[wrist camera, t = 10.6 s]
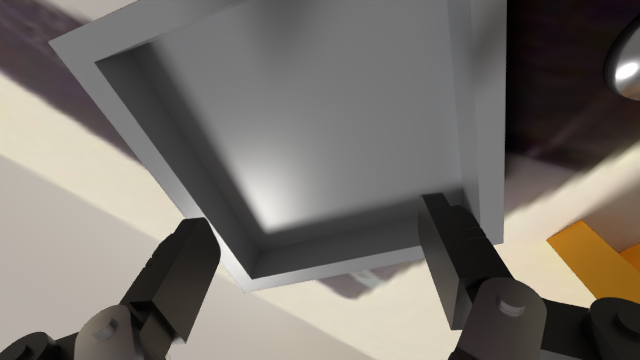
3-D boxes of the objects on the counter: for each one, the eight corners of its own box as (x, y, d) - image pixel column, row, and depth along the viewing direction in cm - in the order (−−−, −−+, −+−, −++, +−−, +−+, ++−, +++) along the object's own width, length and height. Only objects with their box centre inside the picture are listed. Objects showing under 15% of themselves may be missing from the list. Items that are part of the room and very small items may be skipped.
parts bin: (477, 205, 20) (503, 243, 17) (254, 254, 23) (243, 293, 20) (461, -129, 11) (509, -172, 8) (105, 31, 14) (48, 42, 11)
